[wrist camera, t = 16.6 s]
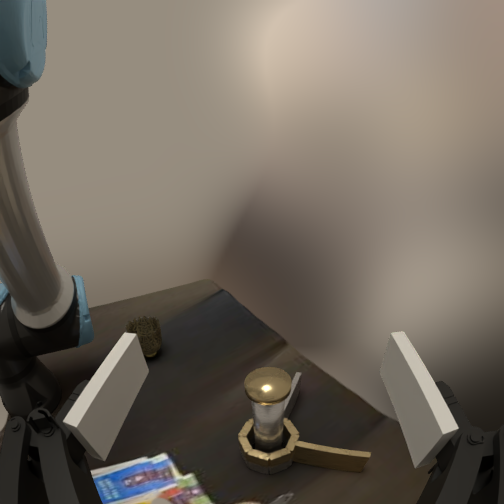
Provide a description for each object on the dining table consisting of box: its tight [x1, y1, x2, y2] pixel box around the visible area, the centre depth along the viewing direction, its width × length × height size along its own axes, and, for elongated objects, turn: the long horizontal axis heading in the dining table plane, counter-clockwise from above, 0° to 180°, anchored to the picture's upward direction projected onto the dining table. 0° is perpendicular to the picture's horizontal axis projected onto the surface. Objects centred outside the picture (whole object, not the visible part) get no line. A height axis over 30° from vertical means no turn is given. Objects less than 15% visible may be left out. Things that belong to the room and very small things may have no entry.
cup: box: [125, 316, 162, 359], centre depth 52 cm, size 8×7×8 cm
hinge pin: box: [245, 367, 292, 454], centre depth 28 cm, size 5×5×16 cm
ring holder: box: [238, 372, 371, 475], centre depth 31 cm, size 14×20×5 cm
